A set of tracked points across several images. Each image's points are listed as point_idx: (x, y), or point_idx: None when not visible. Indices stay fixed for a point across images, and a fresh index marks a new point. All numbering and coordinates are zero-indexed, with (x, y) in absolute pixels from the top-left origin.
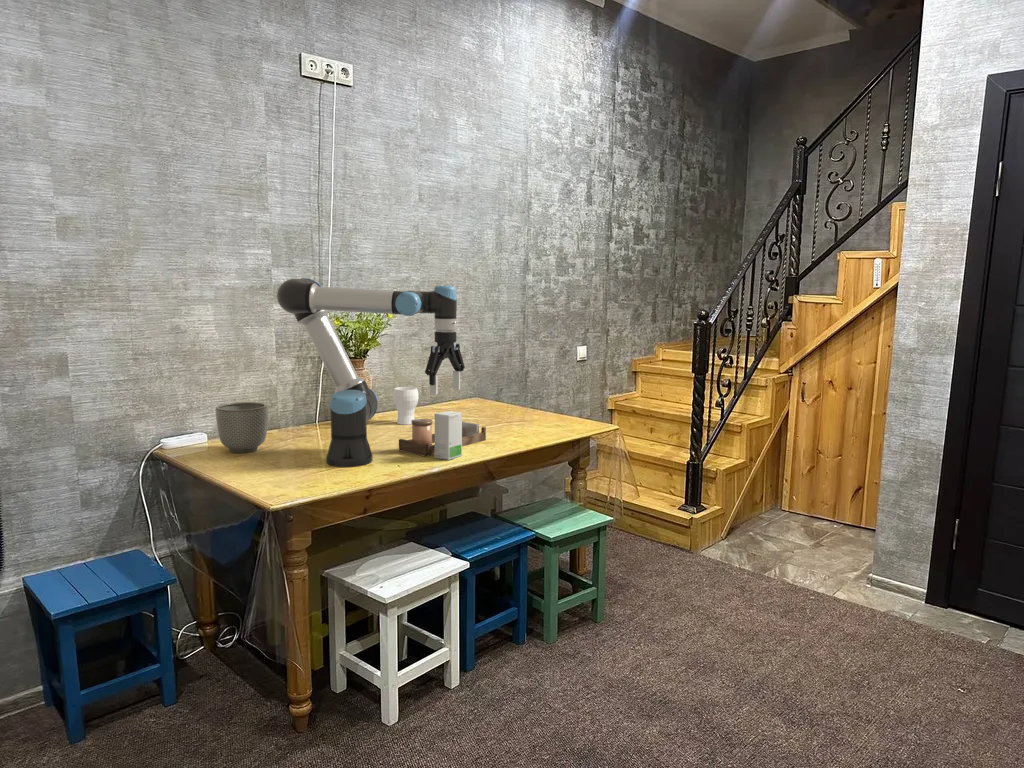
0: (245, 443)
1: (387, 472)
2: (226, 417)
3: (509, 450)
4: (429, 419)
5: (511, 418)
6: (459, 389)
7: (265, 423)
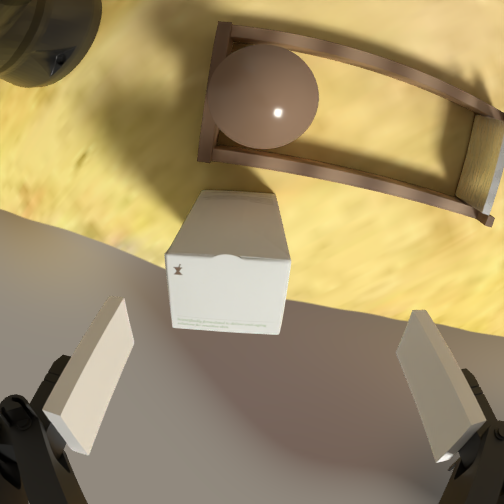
0: None
1: (33, 179)
2: None
3: (382, 315)
4: (311, 112)
5: None
6: (399, 354)
7: None
